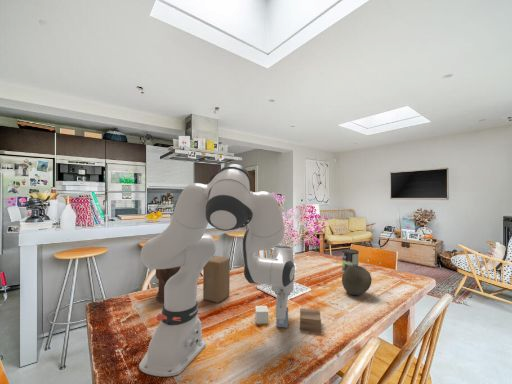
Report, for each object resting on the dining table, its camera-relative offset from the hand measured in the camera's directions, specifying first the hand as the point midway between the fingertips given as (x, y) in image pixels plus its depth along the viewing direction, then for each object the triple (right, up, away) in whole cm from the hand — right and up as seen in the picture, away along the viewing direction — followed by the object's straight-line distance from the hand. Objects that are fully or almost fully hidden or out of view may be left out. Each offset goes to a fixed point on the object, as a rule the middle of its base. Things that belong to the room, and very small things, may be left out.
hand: (282, 318), depth 98 cm
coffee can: (+53, -2, +65) cm, 84 cm away
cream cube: (-8, -3, +3) cm, 9 cm away
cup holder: (-53, -2, +23) cm, 58 cm away
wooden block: (-31, -2, +24) cm, 39 cm away
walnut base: (+11, -3, 0) cm, 12 cm away
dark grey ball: (+42, -3, +29) cm, 52 cm away
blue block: (0, -2, 0) cm, 2 cm away
